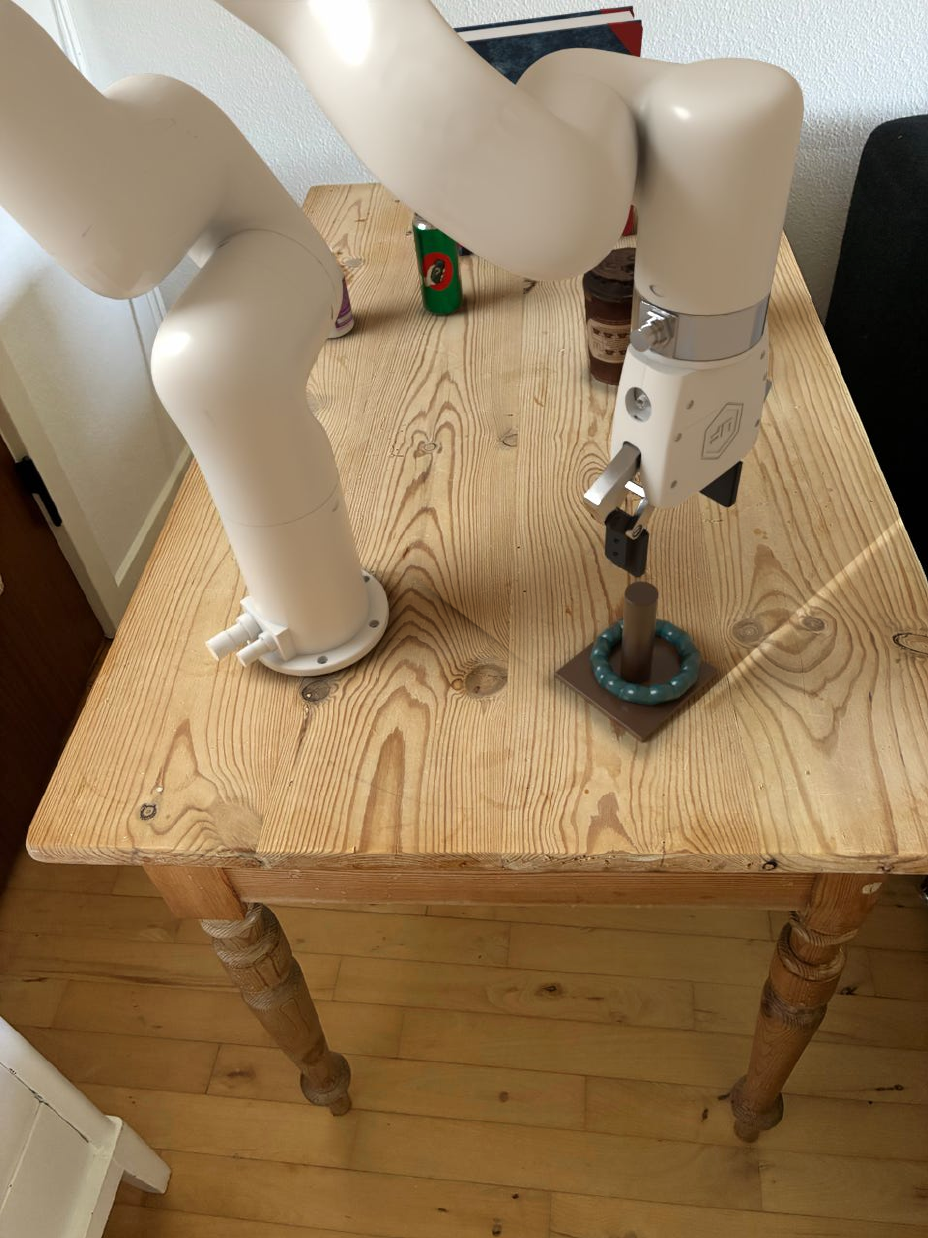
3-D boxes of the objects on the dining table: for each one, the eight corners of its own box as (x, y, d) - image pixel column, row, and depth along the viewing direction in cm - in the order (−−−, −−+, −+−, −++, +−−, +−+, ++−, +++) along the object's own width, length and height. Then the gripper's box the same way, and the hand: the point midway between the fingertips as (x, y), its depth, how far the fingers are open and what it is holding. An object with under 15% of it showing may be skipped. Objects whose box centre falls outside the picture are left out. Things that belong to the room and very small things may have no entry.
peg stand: (640, 747, 71) (649, 662, 63) (554, 682, 75) (552, 595, 68) (716, 679, 74) (732, 590, 67) (629, 621, 79) (635, 532, 71)
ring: (651, 726, 70) (652, 715, 69) (569, 666, 75) (569, 655, 74) (721, 663, 74) (723, 651, 73) (638, 609, 78) (639, 597, 77)
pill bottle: (348, 312, 117) (333, 237, 109) (359, 333, 113) (344, 257, 106) (306, 322, 116) (289, 248, 109) (315, 344, 112) (298, 268, 105)
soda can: (472, 307, 115) (463, 210, 106) (437, 322, 113) (426, 225, 104) (449, 291, 118) (438, 196, 109) (415, 306, 116) (402, 210, 107)
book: (443, 259, 124) (420, 49, 105) (440, 234, 128) (418, 29, 110) (634, 236, 123) (644, 21, 105) (624, 212, 128) (632, 2, 109)
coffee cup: (655, 399, 99) (664, 285, 89) (577, 396, 101) (577, 283, 91) (661, 353, 105) (669, 241, 95) (586, 350, 106) (587, 240, 97)
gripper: (649, 404, 48) (629, 624, 61) (844, 273, 55) (789, 495, 68) (544, 349, 52) (546, 567, 65) (738, 234, 59) (706, 451, 72)
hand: (670, 530), depth 66 cm, fingers open, 9 cm apart
